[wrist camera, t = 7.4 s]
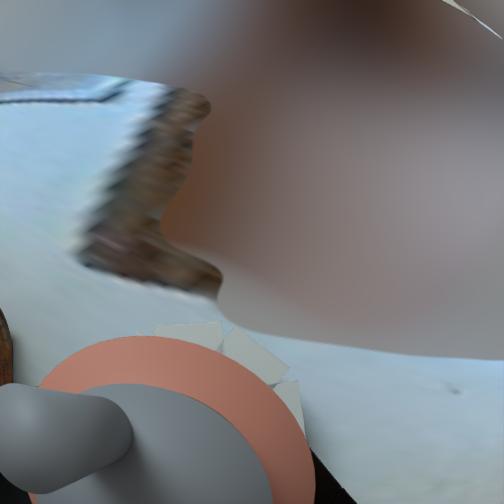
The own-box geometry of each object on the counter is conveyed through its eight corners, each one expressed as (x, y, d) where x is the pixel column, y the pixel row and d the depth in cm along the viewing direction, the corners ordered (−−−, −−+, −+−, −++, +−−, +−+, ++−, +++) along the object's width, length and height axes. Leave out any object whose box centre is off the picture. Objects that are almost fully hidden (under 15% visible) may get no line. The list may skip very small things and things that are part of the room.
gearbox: (306, 572, 14) (324, 600, 10) (151, 584, 12) (140, 613, 8) (274, 330, 23) (289, 313, 19) (112, 340, 21) (89, 325, 17)
